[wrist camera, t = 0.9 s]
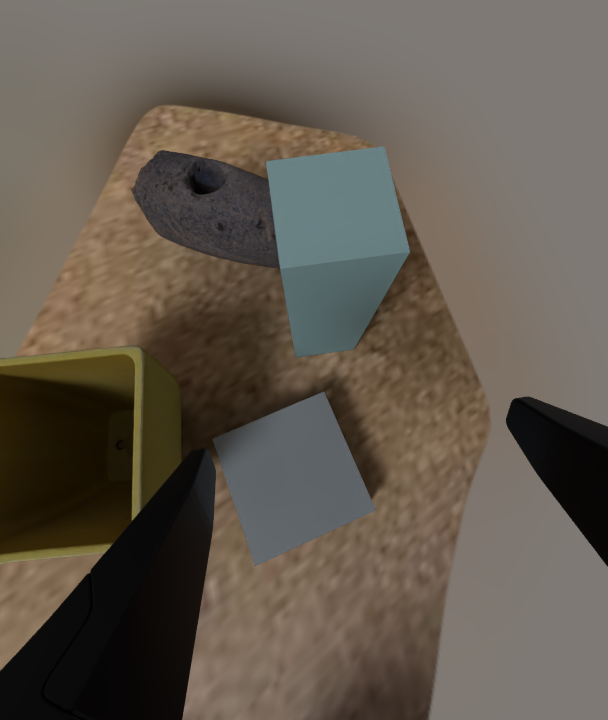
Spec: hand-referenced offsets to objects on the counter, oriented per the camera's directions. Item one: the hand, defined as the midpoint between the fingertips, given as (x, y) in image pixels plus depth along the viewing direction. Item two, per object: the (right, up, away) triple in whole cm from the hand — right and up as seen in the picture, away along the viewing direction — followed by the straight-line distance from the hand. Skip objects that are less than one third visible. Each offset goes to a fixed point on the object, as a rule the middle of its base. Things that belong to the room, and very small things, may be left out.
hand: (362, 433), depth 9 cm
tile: (-2, -6, +12) cm, 14 cm away
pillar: (0, +5, +15) cm, 15 cm away
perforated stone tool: (-5, +11, +16) cm, 21 cm away
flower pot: (-13, -4, +13) cm, 19 cm away
